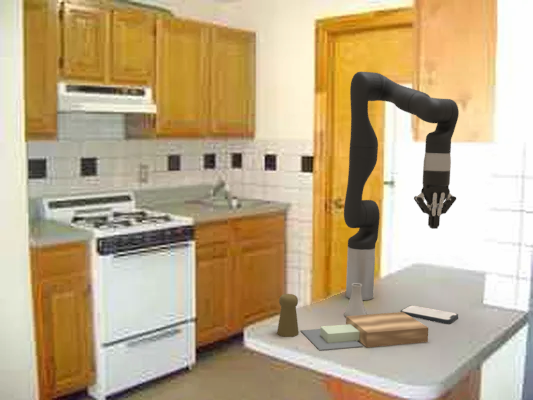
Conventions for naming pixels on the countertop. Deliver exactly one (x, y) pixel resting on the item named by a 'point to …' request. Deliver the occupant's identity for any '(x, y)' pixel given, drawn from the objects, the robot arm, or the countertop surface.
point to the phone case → (430, 314)
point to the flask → (355, 302)
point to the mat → (324, 345)
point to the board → (388, 329)
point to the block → (339, 333)
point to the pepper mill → (288, 316)
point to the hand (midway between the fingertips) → (433, 228)
